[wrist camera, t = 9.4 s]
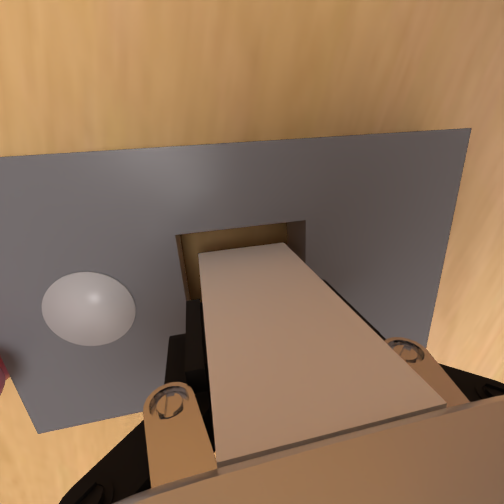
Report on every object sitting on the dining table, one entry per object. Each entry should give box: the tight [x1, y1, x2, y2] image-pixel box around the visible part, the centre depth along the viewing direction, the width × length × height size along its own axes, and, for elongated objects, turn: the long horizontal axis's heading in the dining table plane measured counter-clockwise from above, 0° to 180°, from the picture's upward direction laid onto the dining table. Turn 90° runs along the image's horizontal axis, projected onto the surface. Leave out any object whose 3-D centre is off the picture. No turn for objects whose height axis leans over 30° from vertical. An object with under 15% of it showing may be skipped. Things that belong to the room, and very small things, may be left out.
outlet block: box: [0, 128, 471, 434], centre depth 16 cm, size 24×14×3 cm, turn 93°
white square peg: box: [198, 242, 447, 468], centre depth 10 cm, size 4×4×11 cm
